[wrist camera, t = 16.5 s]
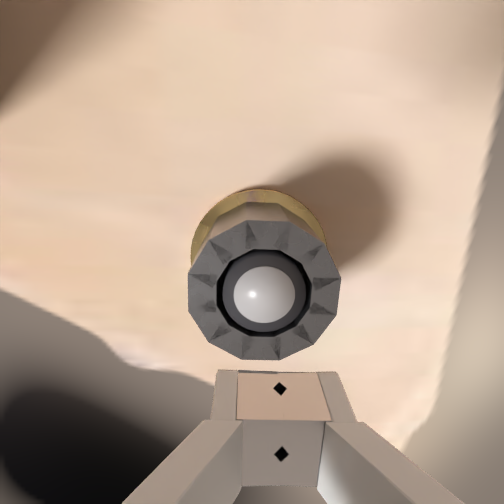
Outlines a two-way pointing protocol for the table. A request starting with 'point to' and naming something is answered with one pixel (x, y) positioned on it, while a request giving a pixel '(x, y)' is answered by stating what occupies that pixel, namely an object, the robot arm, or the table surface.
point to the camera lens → (263, 290)
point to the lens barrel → (261, 237)
